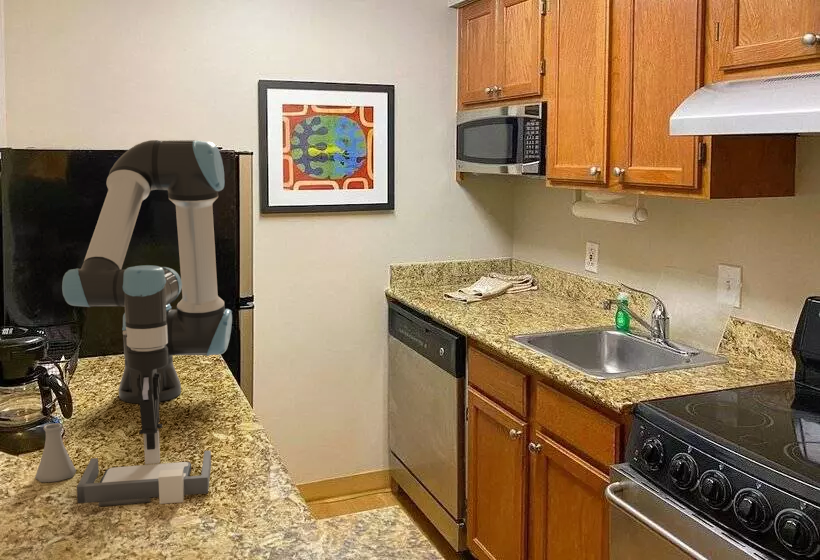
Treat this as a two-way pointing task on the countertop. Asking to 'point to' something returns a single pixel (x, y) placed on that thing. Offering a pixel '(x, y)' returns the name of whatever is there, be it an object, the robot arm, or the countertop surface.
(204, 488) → the dock
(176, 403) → the countertop surface
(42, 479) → the flask
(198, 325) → the robot arm
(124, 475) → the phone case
